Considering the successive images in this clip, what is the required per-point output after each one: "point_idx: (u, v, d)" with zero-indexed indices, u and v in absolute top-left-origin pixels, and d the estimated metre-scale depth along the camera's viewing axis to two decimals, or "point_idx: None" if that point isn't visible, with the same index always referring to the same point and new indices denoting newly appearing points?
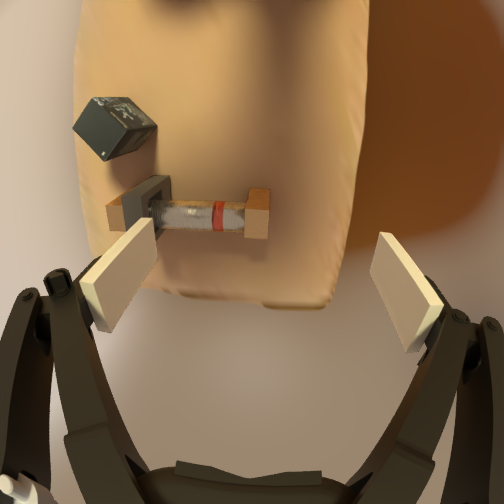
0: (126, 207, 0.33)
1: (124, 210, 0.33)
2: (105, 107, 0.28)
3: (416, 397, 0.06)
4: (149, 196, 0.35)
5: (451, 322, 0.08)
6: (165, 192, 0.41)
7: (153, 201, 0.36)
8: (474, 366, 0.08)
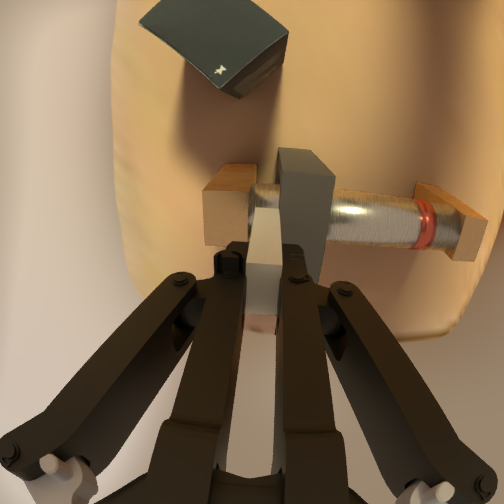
0: (293, 198, 0.15)
1: (284, 204, 0.16)
2: None
3: (283, 377, 0.06)
4: None
5: (290, 285, 0.10)
6: None
7: None
8: (342, 335, 0.10)
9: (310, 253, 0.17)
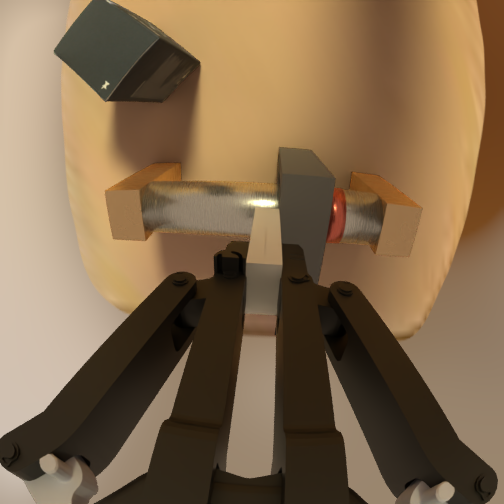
0: (293, 200, 0.15)
1: (284, 206, 0.16)
2: (119, 6, 0.11)
3: (283, 377, 0.06)
4: None
5: (290, 285, 0.10)
6: None
7: (200, 183, 0.19)
8: (342, 335, 0.10)
9: (310, 254, 0.17)
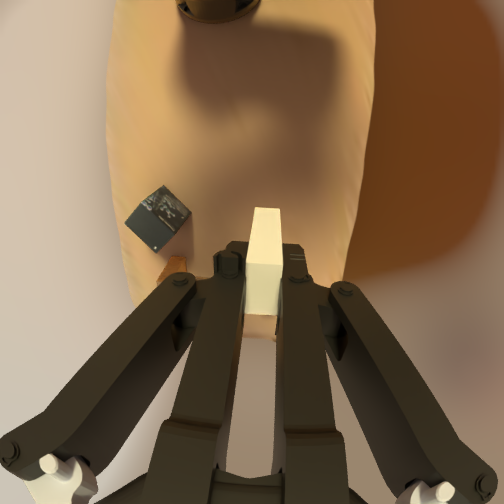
0: None
1: None
2: (153, 211, 0.42)
3: (284, 377, 0.06)
4: None
5: (290, 286, 0.10)
6: None
7: None
8: (342, 335, 0.10)
9: None
